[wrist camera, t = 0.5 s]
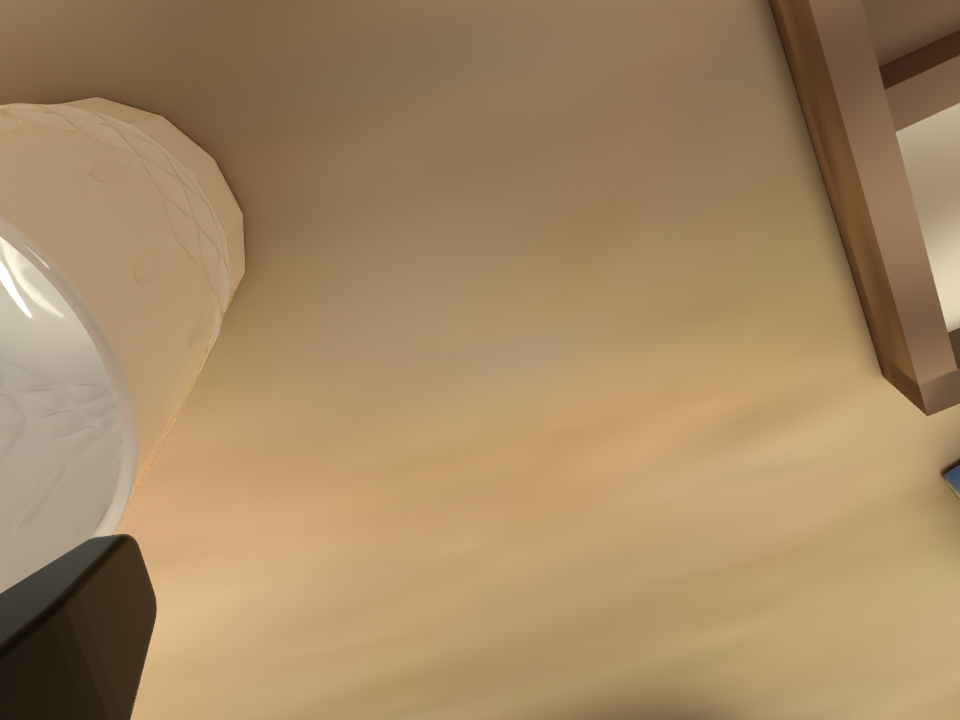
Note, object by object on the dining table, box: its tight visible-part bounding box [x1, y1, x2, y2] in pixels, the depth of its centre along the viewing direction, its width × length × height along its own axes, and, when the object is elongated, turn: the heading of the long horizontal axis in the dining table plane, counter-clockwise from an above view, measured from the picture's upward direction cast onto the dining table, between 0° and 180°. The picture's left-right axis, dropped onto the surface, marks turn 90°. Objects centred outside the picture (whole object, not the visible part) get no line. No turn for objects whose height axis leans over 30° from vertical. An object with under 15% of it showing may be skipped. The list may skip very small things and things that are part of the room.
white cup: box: [0, 97, 245, 593], centre depth 17 cm, size 8×8×10 cm
